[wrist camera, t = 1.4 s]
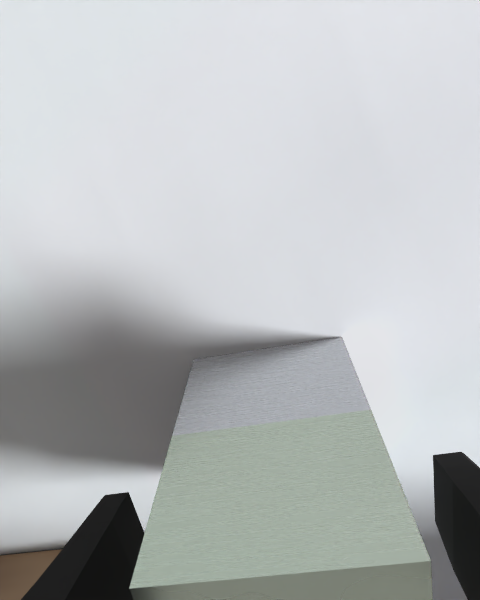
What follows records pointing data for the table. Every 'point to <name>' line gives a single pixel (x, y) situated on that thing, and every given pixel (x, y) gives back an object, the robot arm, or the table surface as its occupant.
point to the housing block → (279, 488)
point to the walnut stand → (22, 572)
